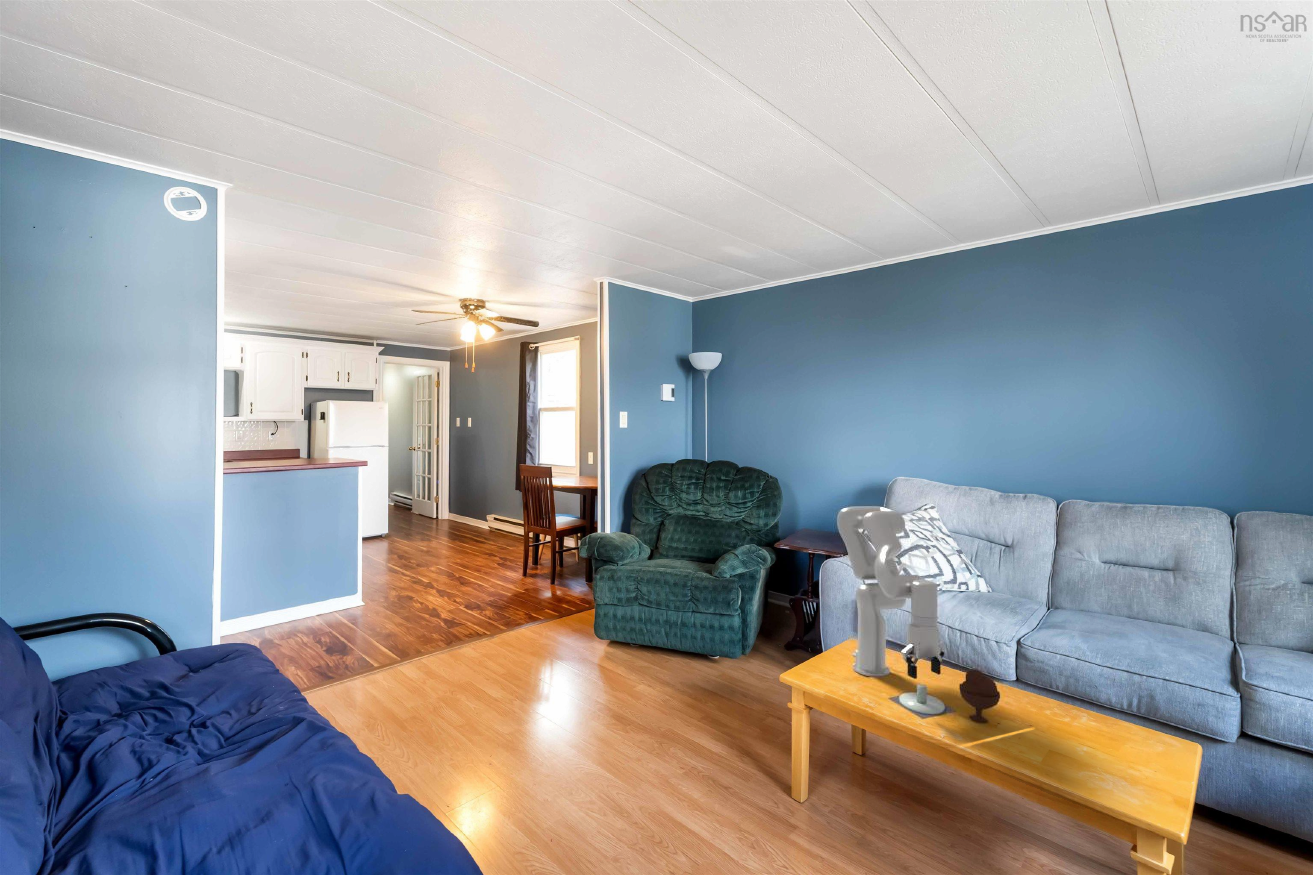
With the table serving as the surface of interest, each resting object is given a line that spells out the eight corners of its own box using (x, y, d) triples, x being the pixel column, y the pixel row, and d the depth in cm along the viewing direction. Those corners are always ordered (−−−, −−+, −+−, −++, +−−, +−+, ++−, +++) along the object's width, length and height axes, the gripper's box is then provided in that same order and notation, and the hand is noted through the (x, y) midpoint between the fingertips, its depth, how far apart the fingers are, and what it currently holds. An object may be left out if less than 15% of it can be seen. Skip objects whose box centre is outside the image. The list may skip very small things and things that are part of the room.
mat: (887, 699, 186) (887, 697, 186) (921, 693, 192) (921, 691, 192) (922, 720, 173) (922, 718, 173) (956, 712, 179) (956, 710, 178)
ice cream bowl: (958, 724, 171) (959, 674, 171) (958, 708, 181) (959, 661, 181) (1000, 734, 166) (1001, 682, 166) (997, 717, 176) (999, 668, 176)
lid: (890, 698, 186) (890, 680, 186) (921, 692, 191) (921, 674, 191) (922, 717, 174) (922, 698, 174) (954, 710, 179) (954, 691, 179)
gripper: (935, 614, 188) (935, 667, 188) (893, 619, 182) (893, 674, 182) (954, 620, 181) (954, 675, 181) (912, 626, 175) (912, 683, 175)
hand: (924, 674), depth 182 cm, fingers open, 9 cm apart
